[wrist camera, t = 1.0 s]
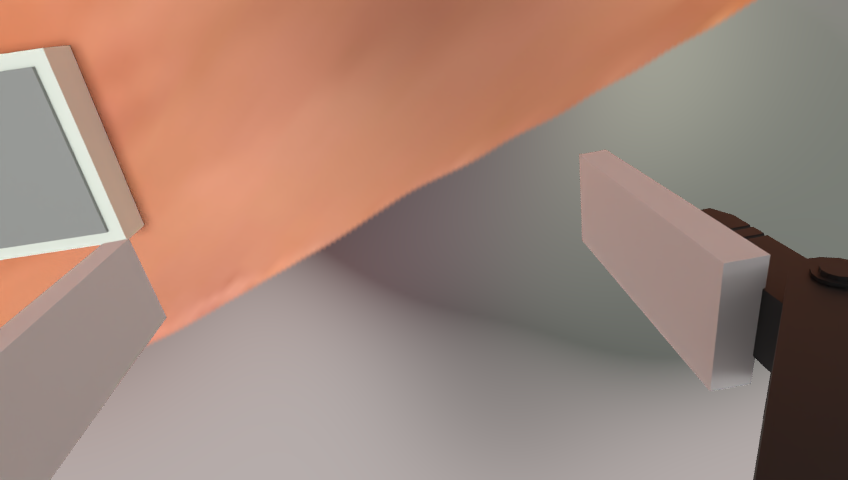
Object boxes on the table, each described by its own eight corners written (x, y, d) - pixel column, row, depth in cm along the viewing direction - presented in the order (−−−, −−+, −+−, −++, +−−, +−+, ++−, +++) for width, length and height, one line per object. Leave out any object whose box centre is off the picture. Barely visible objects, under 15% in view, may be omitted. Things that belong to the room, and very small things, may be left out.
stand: (-129, 74, 35) (-177, 80, 32) (69, 45, 35) (39, 48, 32) (-24, 250, 40) (-57, 269, 38) (144, 225, 41) (125, 242, 38)
